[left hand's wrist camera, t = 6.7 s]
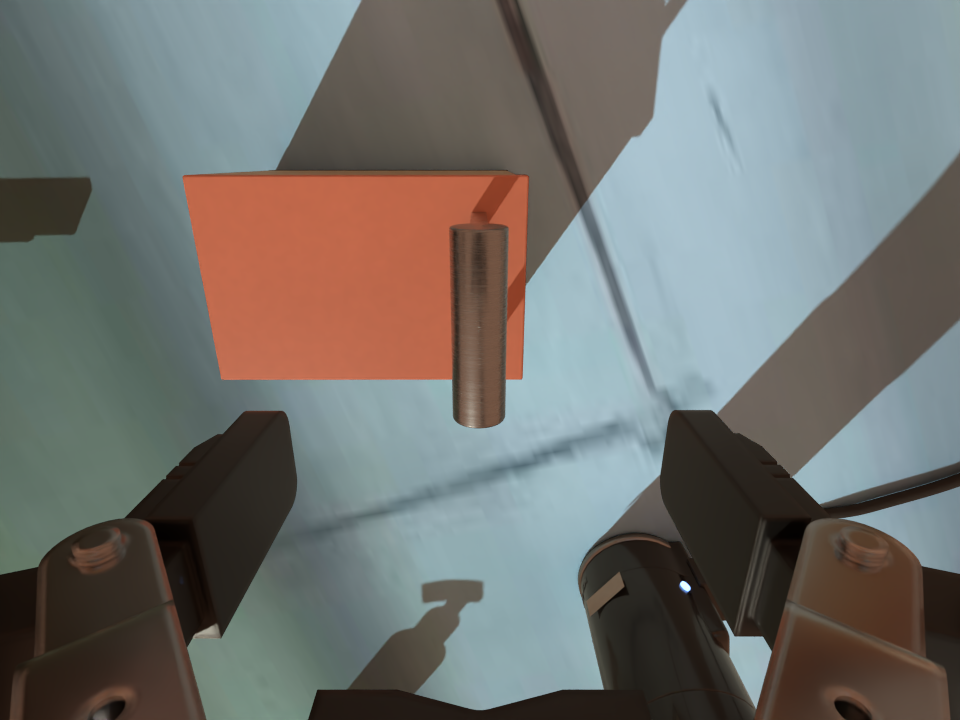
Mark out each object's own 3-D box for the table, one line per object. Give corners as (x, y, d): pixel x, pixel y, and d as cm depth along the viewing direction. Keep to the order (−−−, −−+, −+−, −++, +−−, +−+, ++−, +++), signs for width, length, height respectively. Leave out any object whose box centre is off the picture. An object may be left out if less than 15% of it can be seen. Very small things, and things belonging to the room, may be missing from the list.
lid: (527, 174, 25) (551, 182, 16) (521, 372, 28) (538, 462, 20) (193, 174, 25) (44, 182, 16) (230, 372, 28) (124, 462, 20)
